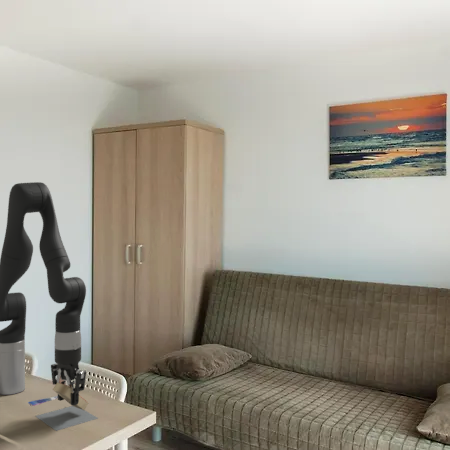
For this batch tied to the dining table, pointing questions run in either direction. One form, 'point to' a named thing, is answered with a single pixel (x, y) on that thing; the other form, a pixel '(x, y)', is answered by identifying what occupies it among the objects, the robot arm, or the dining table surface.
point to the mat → (66, 417)
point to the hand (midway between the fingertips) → (68, 401)
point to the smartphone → (41, 401)
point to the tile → (69, 395)
